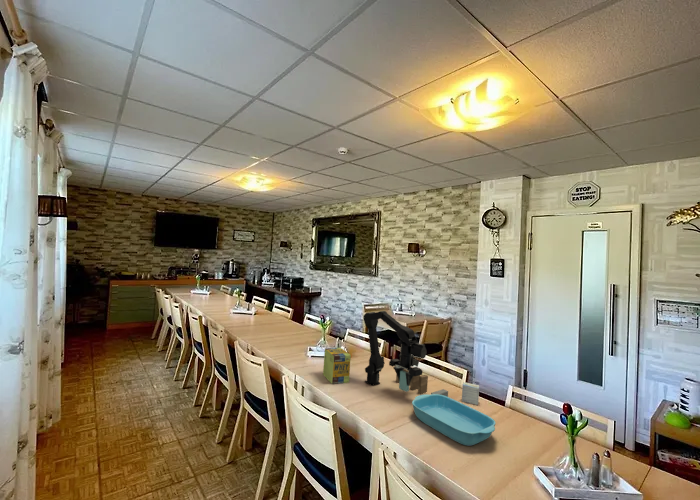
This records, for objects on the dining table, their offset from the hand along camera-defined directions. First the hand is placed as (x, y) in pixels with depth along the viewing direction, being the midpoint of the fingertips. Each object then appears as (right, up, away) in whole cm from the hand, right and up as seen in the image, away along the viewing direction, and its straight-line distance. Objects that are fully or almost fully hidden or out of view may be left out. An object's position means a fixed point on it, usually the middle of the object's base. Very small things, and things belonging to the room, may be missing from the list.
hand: (404, 383), depth 165 cm
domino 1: (+1, -7, +18) cm, 19 cm away
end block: (+17, -7, -4) cm, 19 cm away
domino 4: (+11, -7, +5) cm, 14 cm away
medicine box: (+33, -9, -2) cm, 35 cm away
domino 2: (+4, -7, +14) cm, 16 cm away
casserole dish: (+15, -7, -28) cm, 33 cm away
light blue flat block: (0, -3, 0) cm, 3 cm away
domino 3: (+7, -7, +9) cm, 14 cm away
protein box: (-36, -4, +17) cm, 40 cm away
